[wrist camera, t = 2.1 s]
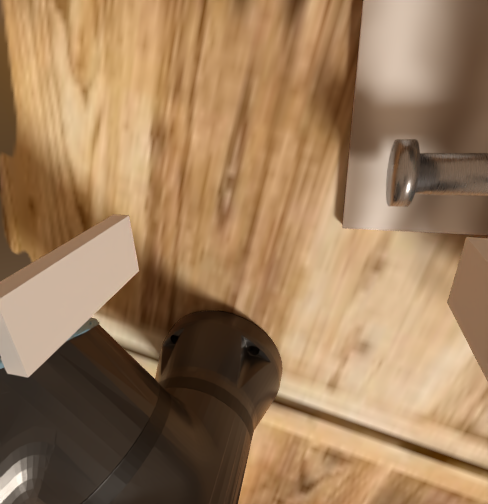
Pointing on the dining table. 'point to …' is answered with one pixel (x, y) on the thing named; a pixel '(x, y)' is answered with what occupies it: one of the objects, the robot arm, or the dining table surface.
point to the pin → (433, 173)
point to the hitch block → (418, 108)
